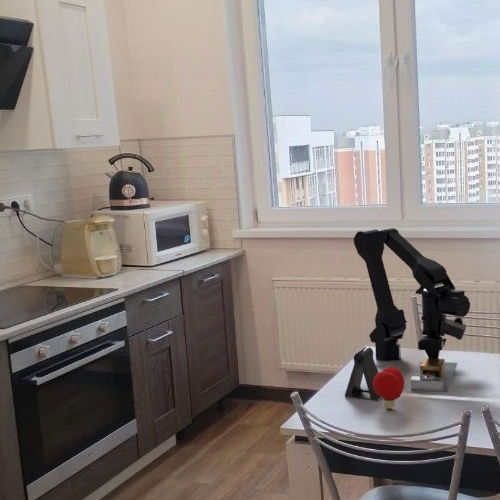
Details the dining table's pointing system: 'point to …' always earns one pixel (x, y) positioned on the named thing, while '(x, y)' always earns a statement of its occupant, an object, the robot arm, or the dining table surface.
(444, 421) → the dining table surface
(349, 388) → the dark grey a-frame stand
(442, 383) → the grey stepped plate
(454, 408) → the dining table surface
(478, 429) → the dining table surface
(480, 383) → the dining table surface
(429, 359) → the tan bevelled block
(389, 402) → the table tennis paddles
